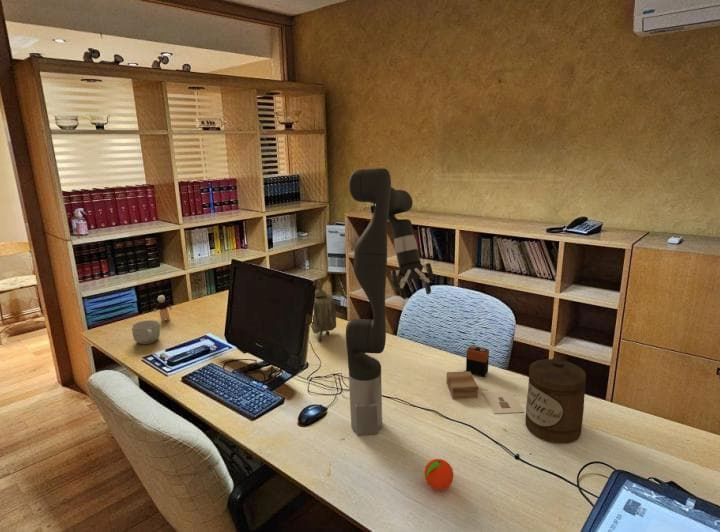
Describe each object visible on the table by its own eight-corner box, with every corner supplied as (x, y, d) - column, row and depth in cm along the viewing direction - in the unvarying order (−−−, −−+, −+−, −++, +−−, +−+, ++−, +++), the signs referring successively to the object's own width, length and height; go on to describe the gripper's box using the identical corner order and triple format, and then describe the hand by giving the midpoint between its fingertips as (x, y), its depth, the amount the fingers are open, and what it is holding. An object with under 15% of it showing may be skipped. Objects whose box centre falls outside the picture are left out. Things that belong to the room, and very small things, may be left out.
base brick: (477, 397, 151) (478, 386, 150) (452, 398, 151) (453, 387, 150) (469, 381, 161) (470, 371, 160) (446, 382, 161) (446, 372, 160)
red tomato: (435, 503, 109) (435, 477, 107) (415, 486, 115) (415, 461, 113) (459, 487, 114) (460, 463, 112) (438, 472, 119) (439, 448, 117)
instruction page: (523, 412, 143) (523, 411, 143) (493, 413, 143) (493, 412, 142) (510, 391, 154) (510, 390, 154) (482, 392, 154) (482, 391, 154)
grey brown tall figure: (309, 330, 207) (305, 276, 200) (329, 327, 209) (326, 273, 202) (316, 344, 193) (312, 286, 186) (337, 340, 196) (334, 283, 189)
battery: (469, 367, 170) (470, 342, 167) (488, 372, 167) (489, 346, 164) (465, 373, 167) (466, 347, 164) (484, 377, 163) (485, 351, 160)
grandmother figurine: (171, 317, 227) (167, 292, 223) (174, 319, 224) (170, 294, 221) (155, 321, 222) (150, 296, 219) (157, 324, 219) (153, 298, 216)
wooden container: (514, 419, 139) (518, 352, 133) (554, 408, 144) (560, 342, 138) (550, 450, 126) (557, 376, 120) (593, 436, 131) (601, 364, 125)
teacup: (134, 339, 204) (131, 322, 202) (161, 334, 208) (158, 317, 206) (134, 352, 192) (131, 333, 190) (163, 346, 196) (160, 328, 194)
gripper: (389, 253, 157) (399, 300, 156) (429, 245, 159) (439, 292, 159) (384, 255, 164) (394, 301, 164) (423, 247, 167) (432, 292, 166)
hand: (416, 296), depth 161 cm, fingers open, 8 cm apart
